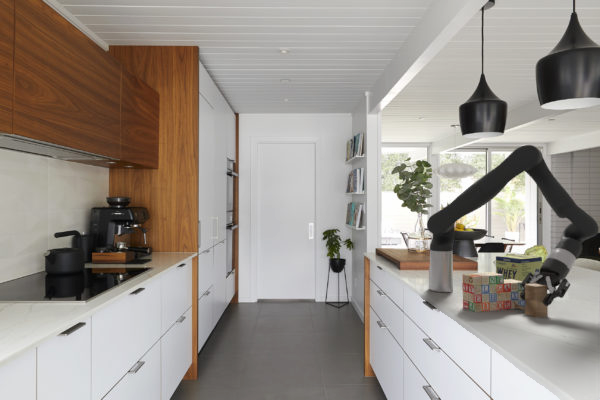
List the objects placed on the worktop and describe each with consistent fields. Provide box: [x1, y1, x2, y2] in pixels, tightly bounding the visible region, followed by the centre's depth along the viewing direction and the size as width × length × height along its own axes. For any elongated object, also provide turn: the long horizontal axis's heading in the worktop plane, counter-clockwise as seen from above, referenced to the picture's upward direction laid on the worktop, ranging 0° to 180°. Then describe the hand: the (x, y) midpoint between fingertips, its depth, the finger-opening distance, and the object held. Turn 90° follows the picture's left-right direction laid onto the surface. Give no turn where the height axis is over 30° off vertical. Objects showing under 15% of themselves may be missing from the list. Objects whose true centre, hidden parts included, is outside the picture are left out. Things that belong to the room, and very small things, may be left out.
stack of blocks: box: [461, 271, 525, 313], centre depth 137 cm, size 21×6×12 cm, turn 104°
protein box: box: [495, 253, 543, 284], centre depth 159 cm, size 10×16×16 cm
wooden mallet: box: [515, 283, 549, 319], centre depth 130 cm, size 10×5×10 cm, turn 19°
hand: (533, 301), depth 127 cm, fingers open, 8 cm apart
